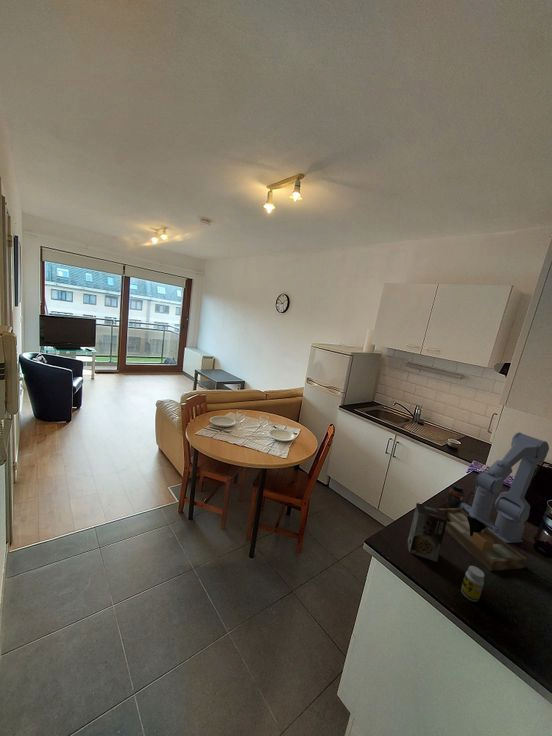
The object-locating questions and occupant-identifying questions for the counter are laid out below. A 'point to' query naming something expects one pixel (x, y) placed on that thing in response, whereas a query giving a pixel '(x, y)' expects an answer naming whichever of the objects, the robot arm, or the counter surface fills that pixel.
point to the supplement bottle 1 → (455, 496)
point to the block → (482, 541)
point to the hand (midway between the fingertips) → (473, 536)
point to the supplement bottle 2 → (473, 583)
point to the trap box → (492, 560)
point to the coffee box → (427, 532)
